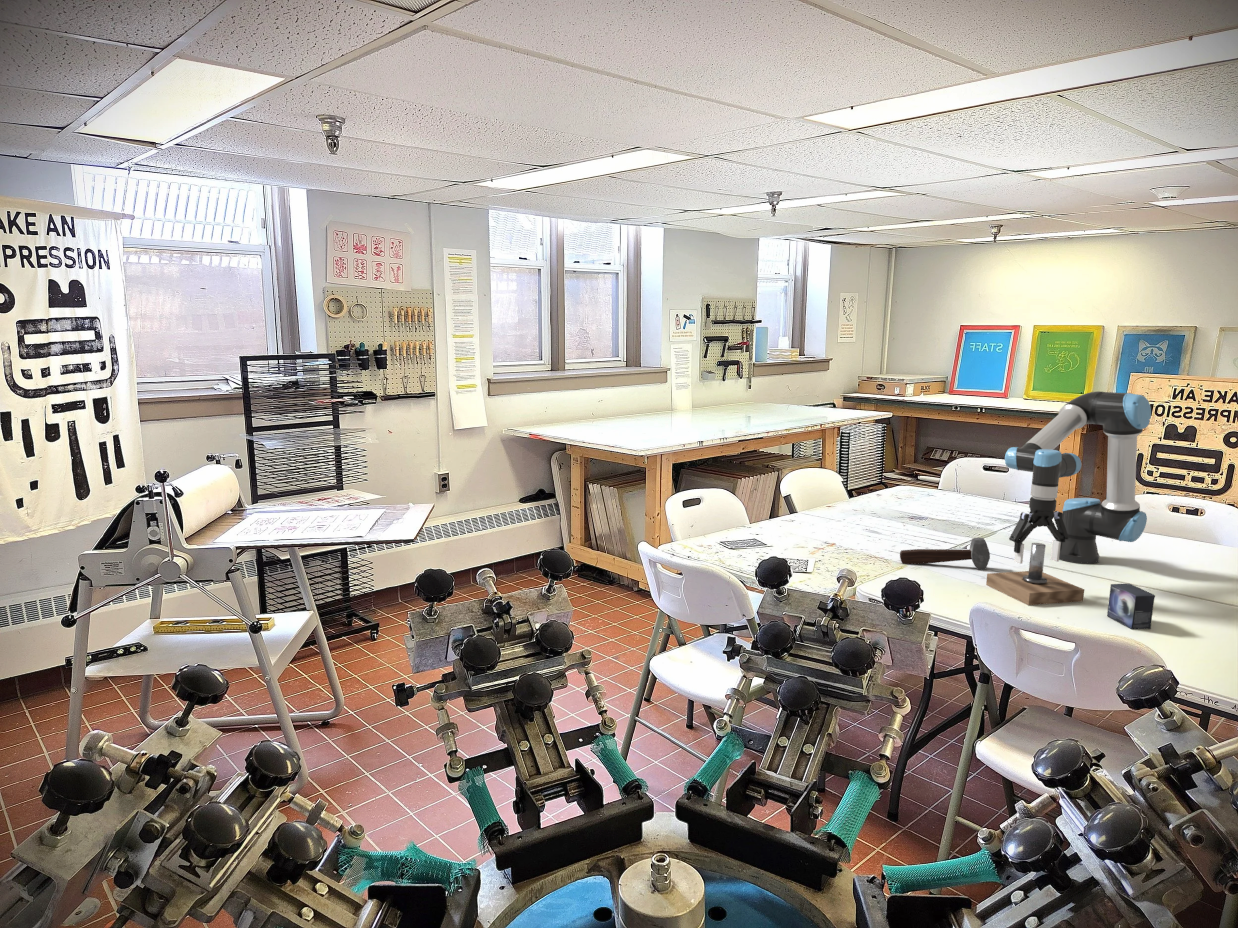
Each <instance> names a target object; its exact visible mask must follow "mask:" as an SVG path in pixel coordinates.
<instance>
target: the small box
mask: <svg viewBox="0 0 1238 928" xmlns="http://www.w3.org/2000/svg"><path fill="white" fill-rule="evenodd" d="M1155 597H1156V595H1155V594H1154V593H1151V592H1149V591H1147V590H1145V589H1143V588H1140V587H1138V586H1136V585H1134V584H1131V583H1127V582H1126V583H1110V589H1109V599H1108V605H1107V606H1108V607H1107V612H1106V613H1107V615H1106V617H1107V618H1110V620H1113V621H1115V622H1117V623H1119V624H1121V625H1123V626H1125V627H1127V628H1128V629H1130V630H1150V629H1152V620H1153V619H1152V618H1153V611H1154V604H1155Z"/></svg>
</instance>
